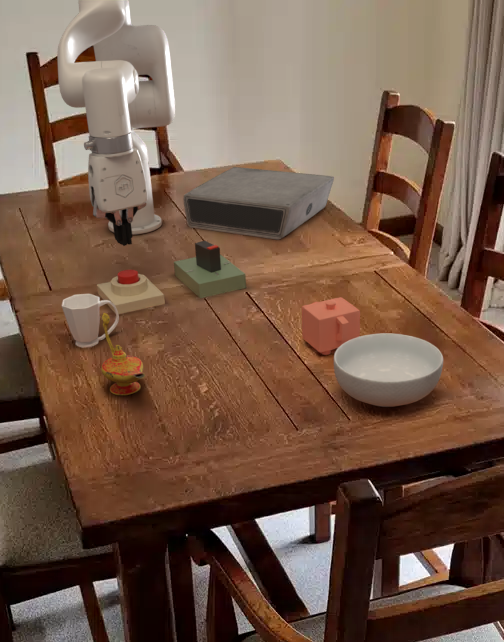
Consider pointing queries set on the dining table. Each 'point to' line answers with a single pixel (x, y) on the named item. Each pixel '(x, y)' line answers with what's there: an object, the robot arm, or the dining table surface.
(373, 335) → the cereal bowl
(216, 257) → the red-striped black box
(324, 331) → the pink cube teapot
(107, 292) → the switch box
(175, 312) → the dining table surface
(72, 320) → the cup
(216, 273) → the panel
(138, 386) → the magic lamp
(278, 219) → the speaker
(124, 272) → the power button
